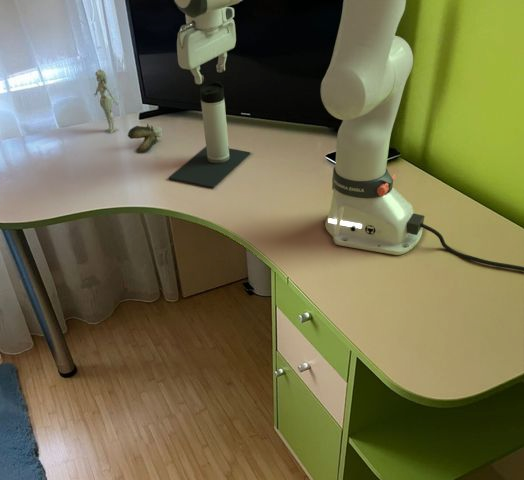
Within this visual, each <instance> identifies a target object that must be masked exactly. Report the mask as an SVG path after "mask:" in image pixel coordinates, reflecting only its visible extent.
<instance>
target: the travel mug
mask: <svg viewBox="0 0 524 480" xmlns="http://www.w3.org/2000/svg"><path fill="white" fill-rule="evenodd" d="M199 95H200V106H201V113H202V121H203V130H204V138H205V147H206V148H207V157H208V161H209V162H211V163H216V164H219V163H224V162H226V161H228V160H229V158H230V157H229V149H230V147H229V146H230V145H229V134H228V125H227V124H228V123H227V114H226V101H225V91H224V85H223V84H222V82H221V81H214V82H209V83H206V84H204V85H202V86H201V87H200V88H199Z"/></svg>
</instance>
